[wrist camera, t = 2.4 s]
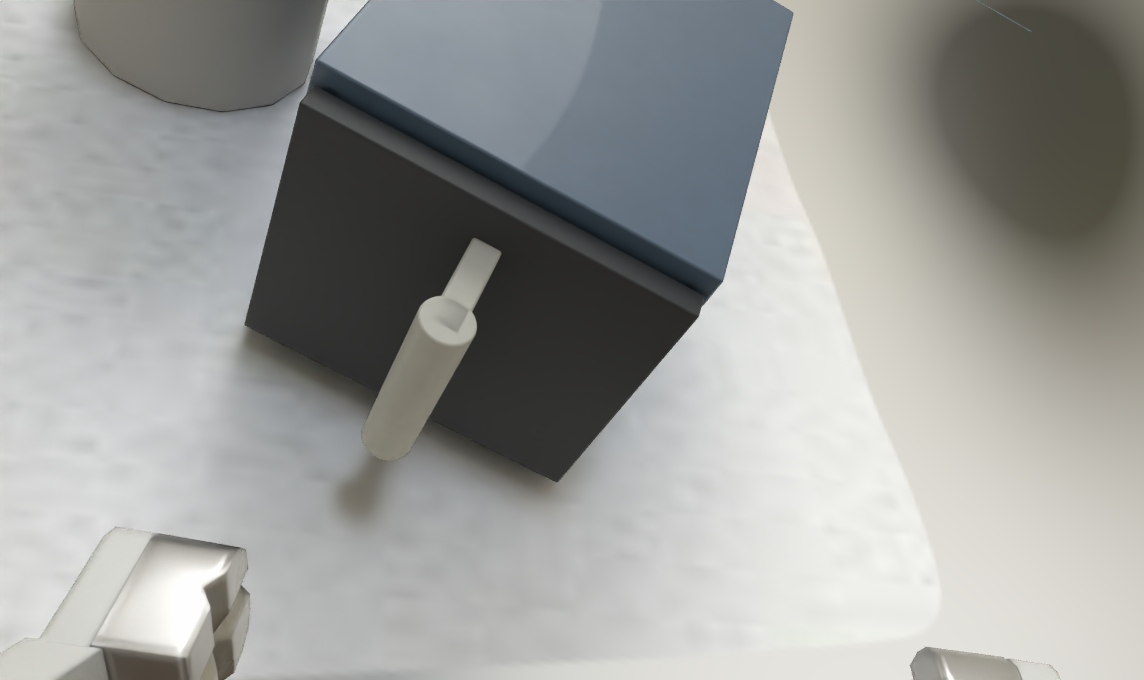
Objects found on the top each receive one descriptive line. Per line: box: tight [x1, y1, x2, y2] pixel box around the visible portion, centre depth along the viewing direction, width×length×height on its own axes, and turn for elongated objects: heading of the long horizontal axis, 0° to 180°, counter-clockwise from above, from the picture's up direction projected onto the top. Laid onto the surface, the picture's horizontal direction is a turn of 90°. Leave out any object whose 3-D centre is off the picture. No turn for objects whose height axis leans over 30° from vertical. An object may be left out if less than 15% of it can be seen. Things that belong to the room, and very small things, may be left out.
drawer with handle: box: [245, 86, 704, 482], centre depth 30 cm, size 17×11×9 cm, turn 163°
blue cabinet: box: [307, 0, 793, 307], centre depth 32 cm, size 14×11×10 cm
